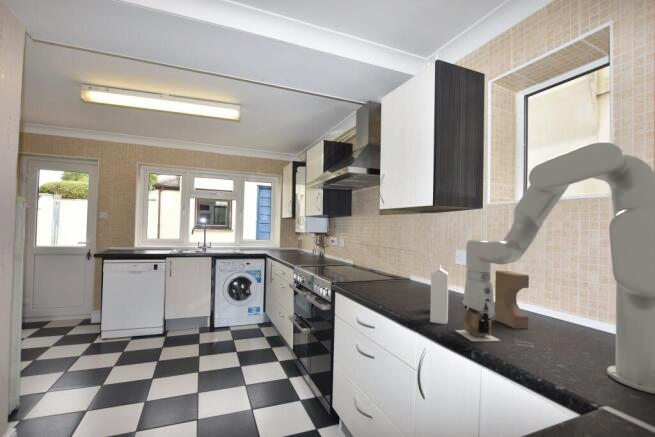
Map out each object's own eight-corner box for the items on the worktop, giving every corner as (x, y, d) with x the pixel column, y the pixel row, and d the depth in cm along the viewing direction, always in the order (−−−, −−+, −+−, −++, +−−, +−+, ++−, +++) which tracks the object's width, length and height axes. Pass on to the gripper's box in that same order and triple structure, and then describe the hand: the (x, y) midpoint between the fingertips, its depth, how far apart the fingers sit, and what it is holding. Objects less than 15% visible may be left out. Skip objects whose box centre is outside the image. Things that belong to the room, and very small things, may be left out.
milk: (430, 322, 115) (430, 265, 116) (432, 318, 121) (432, 263, 121) (446, 324, 112) (447, 266, 113) (448, 320, 118) (448, 264, 119)
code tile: (545, 353, 88) (545, 352, 88) (506, 346, 93) (506, 345, 93) (541, 343, 97) (541, 342, 97) (505, 336, 102) (505, 335, 102)
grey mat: (500, 341, 97) (500, 340, 97) (472, 342, 96) (472, 341, 96) (480, 330, 107) (480, 329, 107) (454, 331, 106) (454, 330, 106)
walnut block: (491, 335, 99) (491, 314, 99) (474, 336, 98) (474, 314, 98) (479, 329, 105) (479, 309, 105) (463, 329, 104) (464, 309, 104)
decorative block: (529, 329, 110) (529, 275, 111) (515, 329, 109) (516, 275, 110) (506, 319, 121) (507, 270, 122) (494, 320, 120) (494, 270, 121)
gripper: (506, 280, 94) (505, 338, 93) (472, 272, 111) (471, 321, 110) (484, 280, 93) (483, 339, 92) (453, 272, 110) (452, 321, 109)
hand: (477, 328), depth 101 cm, fingers closed on walnut block, 6 cm apart
